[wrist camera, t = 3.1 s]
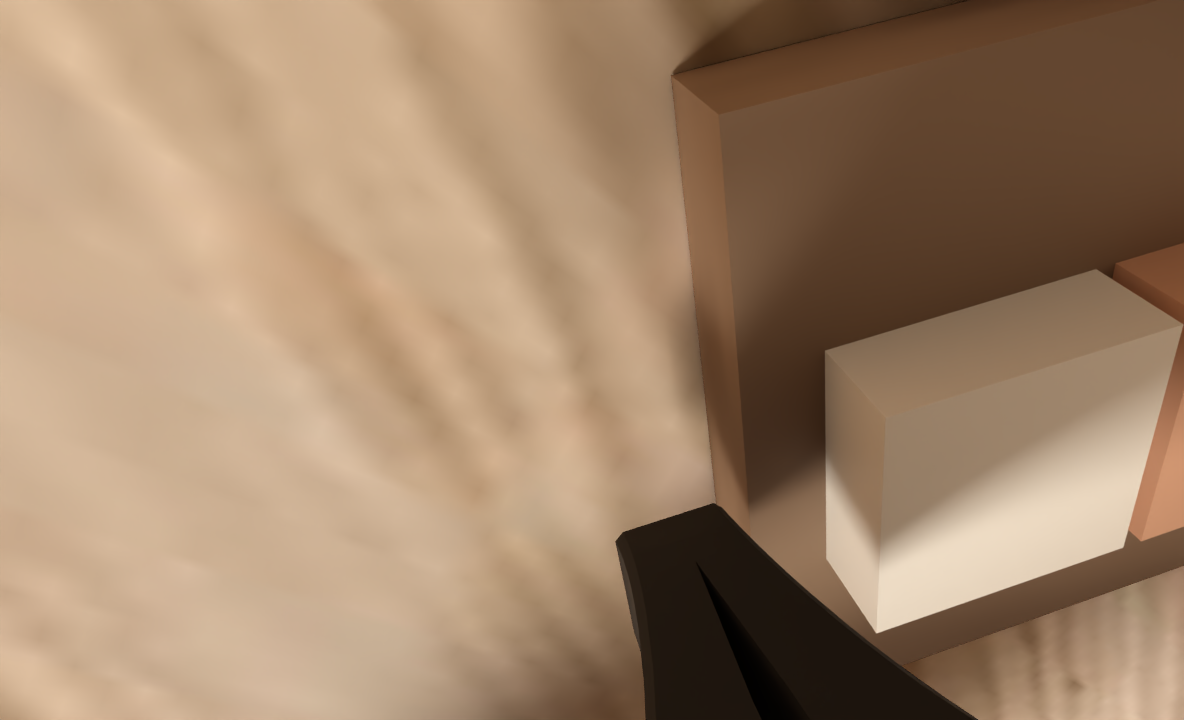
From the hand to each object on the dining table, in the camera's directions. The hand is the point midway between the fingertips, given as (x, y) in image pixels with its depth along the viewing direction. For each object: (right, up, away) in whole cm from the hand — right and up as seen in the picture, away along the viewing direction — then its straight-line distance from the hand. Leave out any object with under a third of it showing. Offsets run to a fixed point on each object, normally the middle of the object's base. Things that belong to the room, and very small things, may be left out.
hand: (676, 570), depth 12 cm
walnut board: (+5, +3, +3) cm, 7 cm away
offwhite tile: (+4, +2, +1) cm, 5 cm away
